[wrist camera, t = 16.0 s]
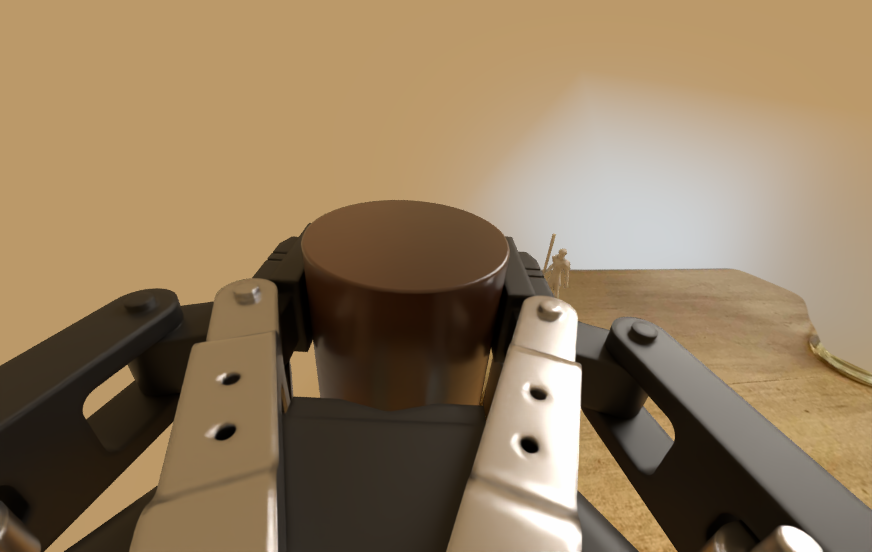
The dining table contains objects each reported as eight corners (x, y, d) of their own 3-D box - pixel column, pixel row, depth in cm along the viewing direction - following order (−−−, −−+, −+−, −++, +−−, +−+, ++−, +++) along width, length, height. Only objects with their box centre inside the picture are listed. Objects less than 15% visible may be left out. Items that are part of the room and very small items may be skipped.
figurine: (525, 300, 62) (541, 236, 56) (544, 291, 65) (561, 229, 59) (550, 317, 59) (570, 250, 52) (569, 306, 62) (591, 242, 55)
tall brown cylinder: (318, 556, 13) (265, 283, 7) (347, 427, 17) (330, 193, 11) (464, 560, 13) (531, 299, 7) (457, 432, 17) (494, 205, 11)
